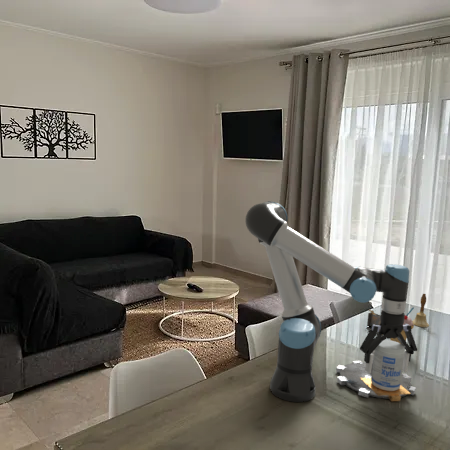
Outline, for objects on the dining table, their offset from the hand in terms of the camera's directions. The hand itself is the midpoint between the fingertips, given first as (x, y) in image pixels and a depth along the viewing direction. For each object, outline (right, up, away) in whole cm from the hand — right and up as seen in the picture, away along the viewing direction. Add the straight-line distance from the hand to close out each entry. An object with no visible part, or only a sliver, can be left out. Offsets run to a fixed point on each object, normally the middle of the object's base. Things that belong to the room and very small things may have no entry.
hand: (386, 371), depth 155 cm
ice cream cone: (+18, -4, +39) cm, 43 cm away
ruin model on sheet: (+18, -1, +62) cm, 64 cm away
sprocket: (-2, -7, +7) cm, 10 cm away
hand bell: (+44, -1, +75) cm, 86 cm away
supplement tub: (0, -5, +1) cm, 5 cm away
